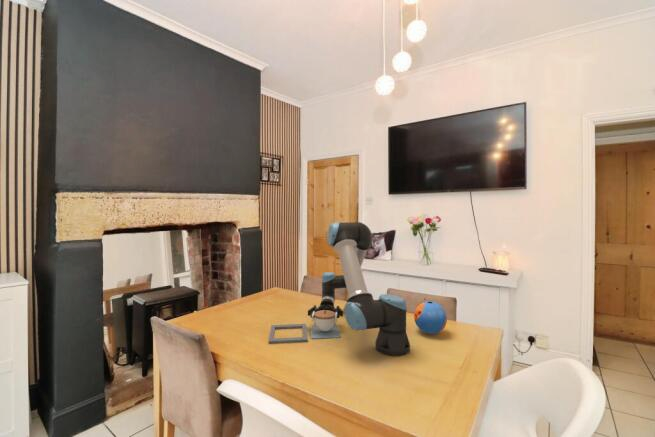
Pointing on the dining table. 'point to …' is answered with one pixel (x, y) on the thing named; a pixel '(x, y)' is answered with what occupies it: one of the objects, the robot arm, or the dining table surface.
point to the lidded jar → (324, 319)
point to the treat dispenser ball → (430, 317)
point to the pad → (324, 333)
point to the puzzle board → (288, 340)
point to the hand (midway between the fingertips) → (324, 318)
